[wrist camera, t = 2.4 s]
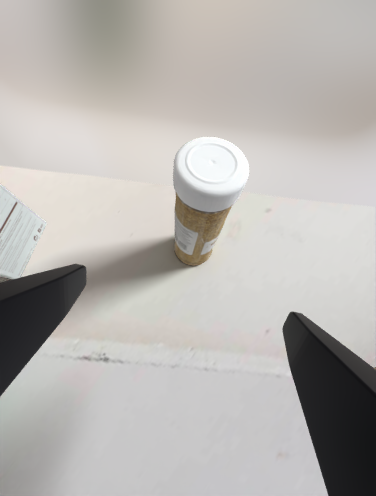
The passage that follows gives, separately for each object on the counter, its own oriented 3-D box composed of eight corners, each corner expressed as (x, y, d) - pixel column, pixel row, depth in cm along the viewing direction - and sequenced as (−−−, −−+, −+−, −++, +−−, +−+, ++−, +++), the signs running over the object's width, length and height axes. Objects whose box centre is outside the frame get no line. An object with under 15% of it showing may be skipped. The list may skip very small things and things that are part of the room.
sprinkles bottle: (215, 262, 24) (262, 188, 11) (177, 269, 23) (181, 199, 11) (206, 227, 25) (238, 129, 13) (170, 233, 25) (167, 136, 12)
